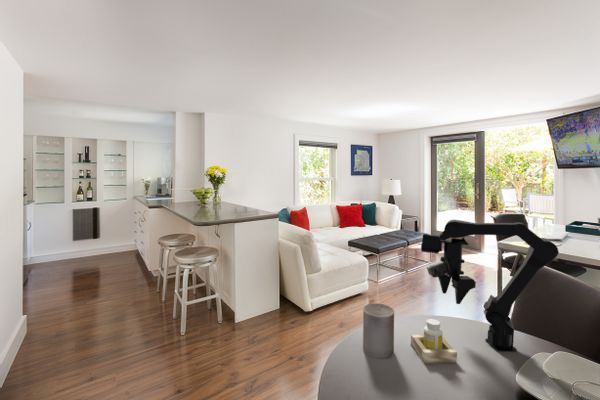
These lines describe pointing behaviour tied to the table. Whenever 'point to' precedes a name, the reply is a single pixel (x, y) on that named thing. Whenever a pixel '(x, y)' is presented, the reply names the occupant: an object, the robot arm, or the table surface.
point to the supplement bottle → (432, 335)
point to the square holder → (433, 351)
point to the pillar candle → (378, 330)
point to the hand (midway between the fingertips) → (450, 298)
